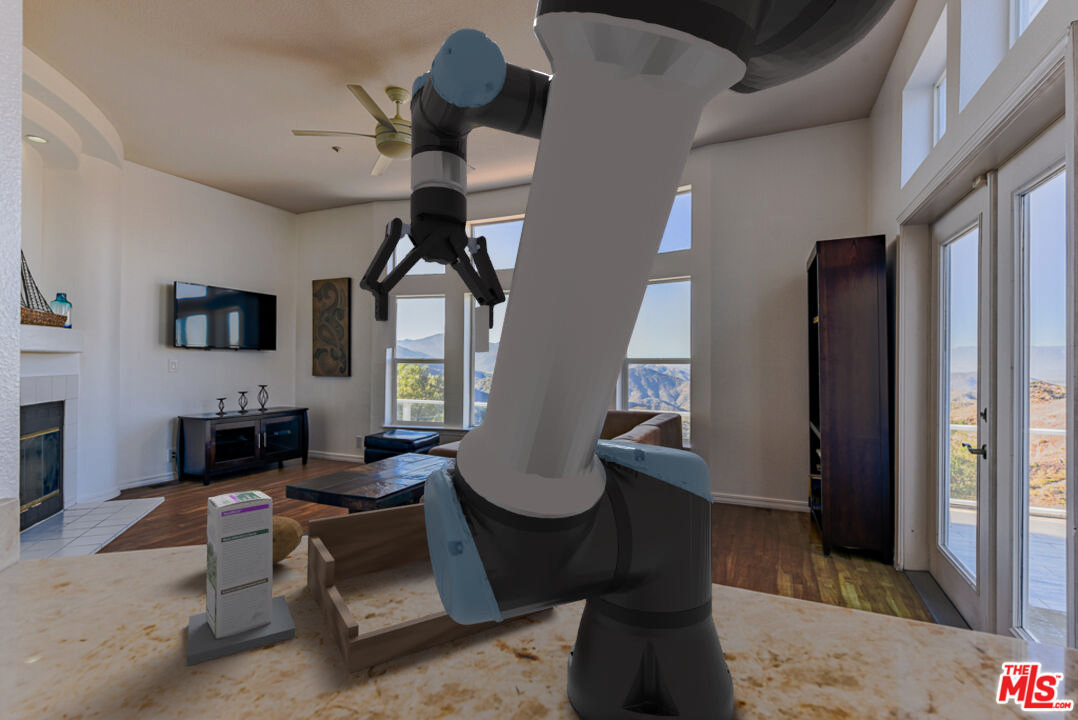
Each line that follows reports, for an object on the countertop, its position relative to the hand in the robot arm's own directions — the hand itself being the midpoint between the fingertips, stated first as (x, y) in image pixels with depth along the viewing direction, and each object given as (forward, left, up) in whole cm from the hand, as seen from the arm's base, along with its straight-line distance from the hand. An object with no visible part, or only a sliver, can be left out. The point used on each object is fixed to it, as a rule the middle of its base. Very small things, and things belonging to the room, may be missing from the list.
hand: (438, 350), depth 65 cm
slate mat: (+5, +22, -33) cm, 40 cm away
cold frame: (+2, +1, -33) cm, 33 cm away
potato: (+26, +19, -33) cm, 46 cm away
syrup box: (+5, +22, -32) cm, 39 cm away
